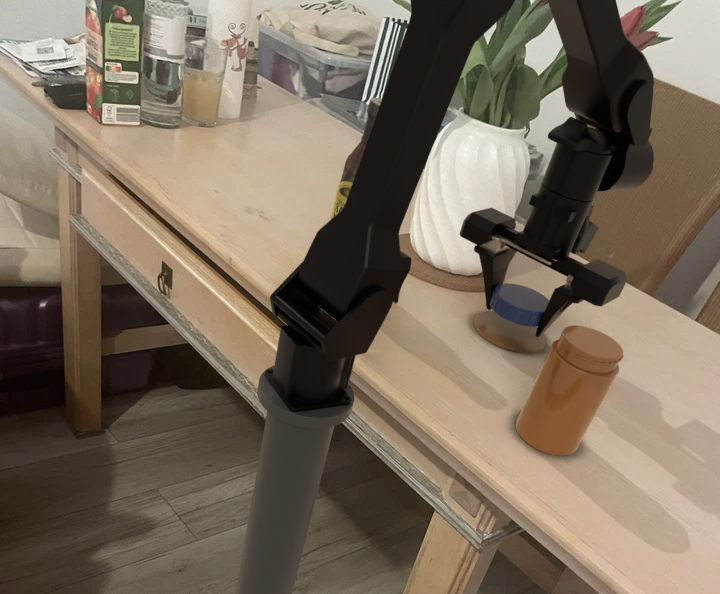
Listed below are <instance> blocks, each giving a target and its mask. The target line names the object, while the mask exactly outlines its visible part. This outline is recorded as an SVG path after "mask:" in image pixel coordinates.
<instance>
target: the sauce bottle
mask: <svg viewBox="0 0 720 594" xmlns="http://www.w3.org/2000/svg"><path fill="white" fill-rule="evenodd" d="M382 98H383V97H382ZM382 98H381V97H371V98H370V100H369V102H368V107H367V109H366V111H367V112H366V113H367V117H366V122H365V126H364V129H363V134H362V135H361V140H360V142H359V143H358V144H357V145H356V147H355V148H354V149H353V150H352V152H350V154H349V155H348V156H347V158H346V160H345V163H344V167H343V171H342V173H341V179H340V181H339V184H338V186H337V190H336V193H335V198H334V201H333V207H332V210H331V215H330V219H329V221H330V220H331V219H332V218H333V217H334V216H335V215H337V214H338V213H339V212H340V211H341V210H342V209H343V207H344V205H345V203H346V201H347V198H348V195H349V192H350V189H351V186H352V183H353V181H354V178H355V175H356V172H357V169H358V166H359V164H360V161H361V158H362V155H363V152H364V149H365V146H366V144H367V141H368V138H369V135H370V132H371V129H372V126H373V124H374V121H375V118H376V115H377V112H378V109H379V107H380V104H381V101H382Z"/></svg>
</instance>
